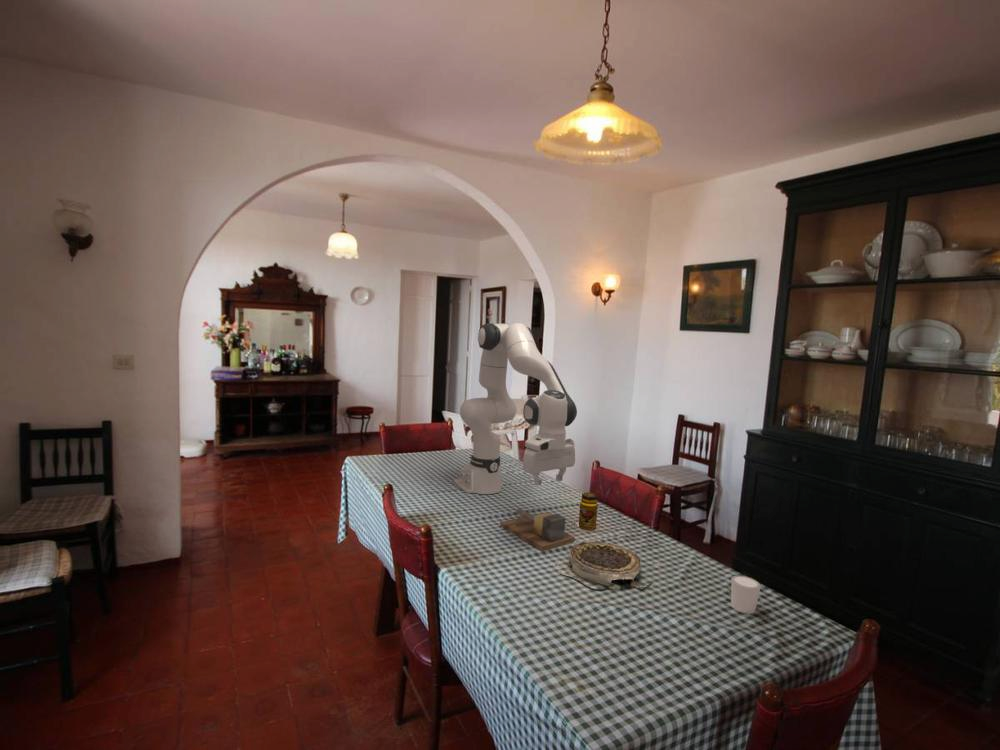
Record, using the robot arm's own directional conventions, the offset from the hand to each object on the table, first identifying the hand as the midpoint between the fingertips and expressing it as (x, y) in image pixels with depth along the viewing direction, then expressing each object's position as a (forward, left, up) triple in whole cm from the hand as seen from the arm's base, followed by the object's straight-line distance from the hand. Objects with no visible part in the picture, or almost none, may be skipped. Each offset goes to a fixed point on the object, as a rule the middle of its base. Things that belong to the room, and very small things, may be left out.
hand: (548, 482), depth 164 cm
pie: (+24, +2, -20) cm, 31 cm away
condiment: (0, +20, -19) cm, 28 cm away
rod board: (-4, 0, -19) cm, 19 cm away
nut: (0, 0, -17) cm, 17 cm away
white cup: (+58, +17, -19) cm, 63 cm away
